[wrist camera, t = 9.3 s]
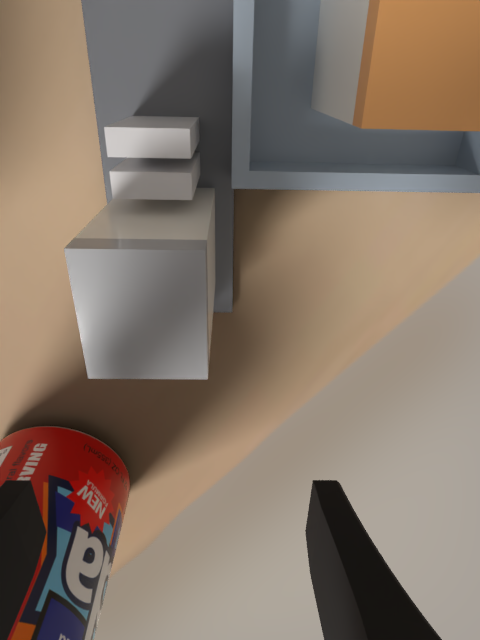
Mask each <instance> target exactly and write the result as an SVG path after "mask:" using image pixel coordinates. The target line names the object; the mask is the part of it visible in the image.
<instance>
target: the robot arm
mask: <svg viewBox="0 0 480 640" xmlns="http://www.w3.org/2000/svg"><path fill="white" fill-rule="evenodd" d="M46 533H47V531H46V528H45V525H44V522H43V518H42V515H41V512H40V509H39V505H38V502H37V499H36V496H35V492H34V489H33V486H32V483H31V480H7V481H5V482H4V483H3V484H2V485H1V486H0V640H7V639H8V637H9V634H10V632H11V630H12V627H13V625H14V623H15V620H16V618H17V615H18V613H19V611H20V608H21V606H22V603H23V601H24V599H25V596H26V594H27V591H28V589H29V586H30V584H31V581H32V579H33V576H34V574H35V570H36V567H37V564H38V561H39V557H40V554H41V550H42V547H43V543H44V540H45V536H46ZM306 540H307V548H308V558H309V567H310V574H311V579H312V584H313V589H314V594H315V598H316V603H317V608H318V612H319V617H320V621H321V626H322V631H323V635H324V640H442V639H441V638H440V637H439V636H438V634H437V633H436V632H435V631H434V629H433V628H432V627H431V625H430V624H429V623H428V621H427V620H426V619H425V617H424V616H423V615H422V613H421V612H420V611H419V609H418V608H417V607H416V605H415V604H414V603H413V601H412V600H411V598H410V597H409V596H408V594H407V593H406V591H405V590H404V589H403V587H402V586H401V584H400V583H399V582H398V580H397V578H396V577H395V575H394V574H393V573H392V571H391V570H390V568H389V567H388V565H387V564H386V562H385V561H384V559H383V557H382V556H381V554H380V553H379V551H378V549H377V548H376V546H375V545H374V543H373V542H372V540H371V538H370V537H369V535H368V533H367V532H366V530H365V529H364V527H363V525H362V523H361V522H360V520H359V518H358V517H357V515H356V513H355V511H354V509H353V508H352V506H351V504H350V502H349V500H348V498H347V496H346V495H345V493H344V491H343V489H342V487H341V485H340V483H339V482H337V481H332V480H330V481H329V480H325V481H324V480H321V481H320V480H318V481H317V480H313V484H312V490H311V498H310V504H309V511H308V518H307V525H306Z"/></svg>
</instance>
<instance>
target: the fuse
mask: <svg viewBox="0 0 480 640" xmlns="http://www.w3.org/2000/svg"><path fill="white" fill-rule="evenodd" d="M64 251H65V256H66V262H67V267H68V273H69V278H70V283H71V289H72V294H73V300H74V305H75V310H76V316H77V321H78V327H79V332H80V337H81V343H82V348H83V354H84V359H85V364H86V370H87V375H88V379H208V372H209V359H210V346H211V333H212V320H213V307H214V295H215V188H196V190H195V193H194V196H193V199H192V200H148V199H112V200H111V201H110V202H109V203H108V204H107V205H106V206H105V207H104V208H103V209H102V210H101V211H100V212H99V213H98V214H97V215H96V216H95V217H94V218H93V219H92V220H91V221H90V222H89V223H88V224H87V225H86V227H85V228H84V229H83V230H82V231H81V232H80V233H79V234H78V235H77V236H76V237H75V238H74V239H73V240H72V241H71V242H70V243H69V244H68V245H67V246H66V247H65V248H64Z"/></svg>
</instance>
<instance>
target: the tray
mask: <svg viewBox="0 0 480 640" xmlns="http://www.w3.org/2000/svg"><path fill="white" fill-rule="evenodd" d="M320 2H321V0H233V86H232V189H278V190H337V191H397V192H456V193H480V131H440V130H399V129H361V128H358V127H356V126H353V125H351V124H348V123H346V122H343V121H341V120H339V119H336V118H334V117H331V116H329V115H326V114H324V113H321V112H319V111H316V110H314V109H311V99H312V89H313V78H314V67H315V56H316V45H317V34H318V24H319V13H320Z"/></svg>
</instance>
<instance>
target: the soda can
mask: <svg viewBox="0 0 480 640" xmlns="http://www.w3.org/2000/svg"><path fill="white" fill-rule="evenodd" d="M7 480H31V483H32V486H33V489H34V492H35V496H36V499H37V502H38V505H39V509H40V512H41V515H42V518H43V522H44V525H45V528H46V531H47V533H46V536H45V540H44V543H43V547H42V550H41V554H40V557H39V561H38V564H37V567H36V570H35V574H34V576H33V579H32V581H31V584H30V586H29V589H28V591H27V594H26V596H25V599H24V601H23V603H22V606H21V608H20V611H19V613H18V615H17V618H16V620H15V623H14V625H13V627H12V630H11V632H10V634H9V637H8V639H7V640H94V637H95V633H96V629H97V625H98V621H99V617H100V613H101V609H102V605H103V600H104V596H105V592H106V588H107V584H108V580H109V576H110V572H111V568H112V564H113V559H114V555H115V551H116V547H117V543H118V539H119V535H120V531H121V527H122V523H123V518H124V514H125V510H126V506H127V502H128V497H129V491H130V478H129V474H128V471H127V469H126V466H125V465H124V463H123V461H122V460H121V458H120V457H119V456H118V455H117V454H116V452H115V451H113V450H112V449H111V448H110V447H109V446H108V445H106V444H105V443H103V442H102V441H100V440H99V439H97V438H95V437H93V436H91V435H88V434H86V433H83V432H80V431H77V430H74V429H70V428H64V427H57V426H38V427H31V428H26V429H23V430H20V431H17V432H14V433H12V434H10V435H8V436H6V437H5V438H3V439H2V440H1V441H0V486H1V485H2V484H3V483H4V482H5V481H7Z"/></svg>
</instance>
